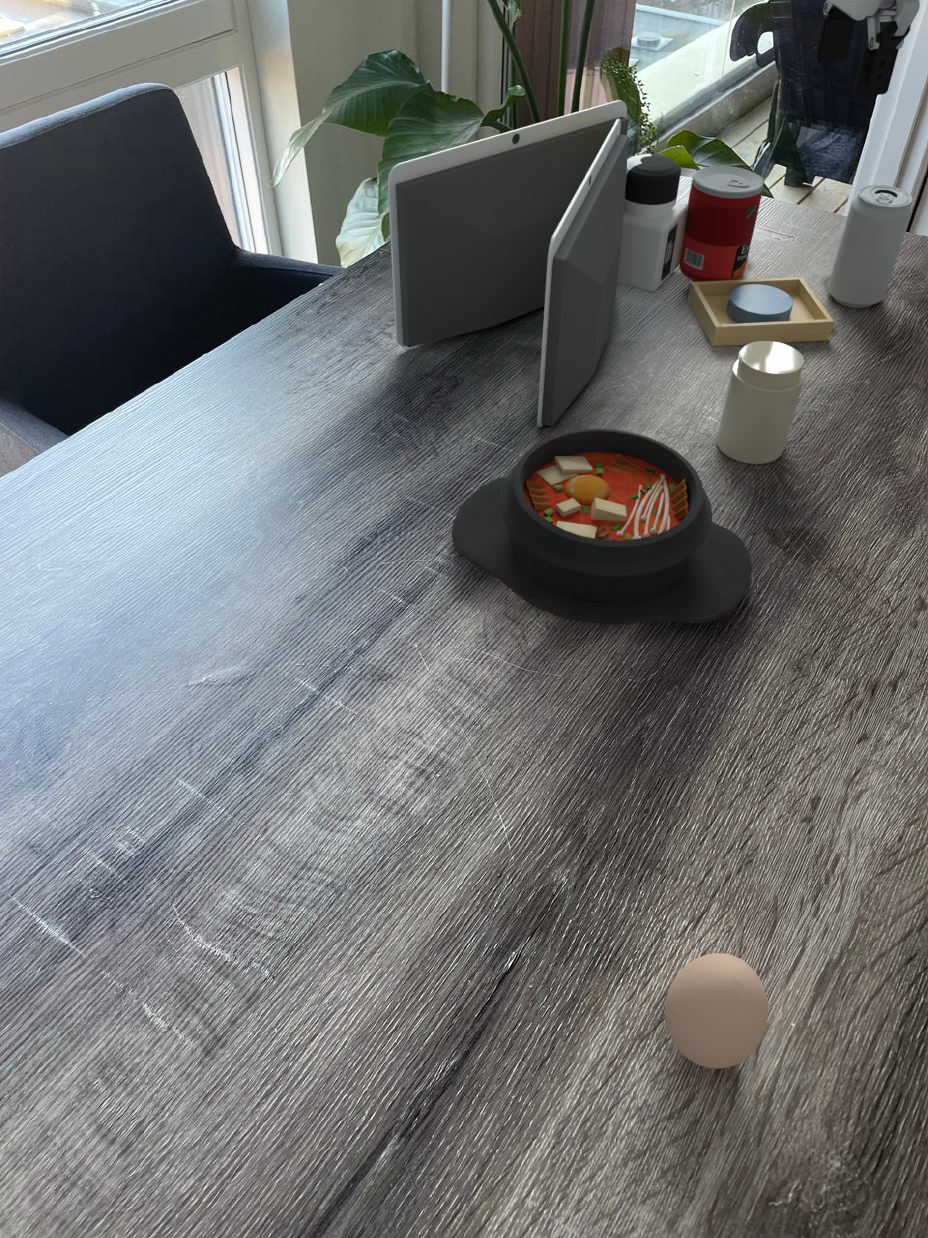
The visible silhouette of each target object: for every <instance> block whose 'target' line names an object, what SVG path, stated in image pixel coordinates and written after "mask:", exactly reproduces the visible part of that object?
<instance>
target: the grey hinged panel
mask: <svg viewBox="0 0 928 1238" xmlns="http://www.w3.org/2000/svg"><path fill="white" fill-rule="evenodd" d="M627 115H628V107H627V104H626V103H625V102H624V100H623V101H622V100H620V99H616V100H613V101H610V102H607V103H603V104H600V105H596V106H592V107H589V108H586V109H582V110H579V111H575V112H572V113H569V114H565V115H562V116H558V117H554V118H550V119H548V120H544V121H540V122H537V123H533V124H529V125H526V126H523V127H520V128H517V129H512V130H509V131H506V132H503V133H499V134H496V135H492V136H489V137H485V138H482V139H479V140H478V139H477V140H475V141H471V142H468V143H464V144H461V145H457V146H454V147H451V148H448V149H447V148H446V149H443V150H440V151H437V152H433V153H429V154H426V155H423V156H419V157H416V158H412V159H409V160H405V161H402V162H399V163H396V164H394V166H393V167H392V168H391V169H390V170H389V173H388V176H387V196H388V197H387V198H388V217H389V235H390V238H389V239H390V254H391V273H392V276H391V277H392V293H393V295H392V296H393V313H394V333H395V341H396V343H397V344H398V345H399V346H401V347H403V348H412V347H413V348H414V347H416V346H420V345H424V344H428V343H432V342H433V343H434V342H437V341H440V340H444V339H449V338H452V337H456V336H460V335H464V334H468V333H472V332H476V331H481V330H484V329H488V328H492V327H494V326H498V325H499V324H503V323H505V322H507V321H510V320H512V319H516V318H517V317H520V316H523V315H525V314H528V313H530V312H533V311H535V310H538V309H540V308H543V307H544V309H543V310H544V311H543V324H542V325H543V326H542V341H541V354H540V355H541V356H540V357H541V358H540V369H539V370H540V372H539V386H538V389H539V390H538V400H537V401H538V402H537V418H536V427H537V428H542V427H543V426H548V427H553V426H554V425H555V423H556V422H557V421H558V419H560V417H561V416H562V415H563V413H564V412H565V411H566V410H567V409H568V408H569V406H570V405H571V403H572V402H573V401H574V400H575V398H576V397H578V395H579V394H580V393H581V391H583V389H584V388H585V386H587V384H588V383H589V382H590V380H591V379H592V378H593V376H594V374H595V371H596V369H597V366H598V364H599V361H600V359H601V356H602V354H603V351H604V349H605V347H606V344H607V342H608V339H609V337H610V334H611V331H612V327H613V318H614V310H615V301H616V293H617V284H618V282H617V277H618V268H619V260H620V251H621V243H622V229H623V215H624V201H625V186H626V172H627V160H628V159H629V158H628V155H629V141H630V136H629V135H628V130H629V123H630V122H629V121H630V120H629V118H627Z"/></svg>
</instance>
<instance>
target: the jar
mask: <svg viewBox="0 0 928 1238" xmlns="http://www.w3.org/2000/svg"><path fill="white" fill-rule="evenodd" d="M737 355H738V359H736V360H735V361H734V363H733V364H732V367H731V372H730V375H729V381H728V385H727V389H726V392H725V393H726V394H725V398H724V402H723V406H722V412H721V415H720V420H719V424H718V429H717V433H716V438H715V442H716V446H717V447H718V449H719V450H720V452H721V453H723V455H725V456H726V457H728V458H730V459H732V460H734V461H736V462H739V463H743V464H748V465H763V464H770V463H772V462H774V461H776V460H778V459H779V458H780V457H781V456H782V455H783V453H784V450H785V446H786V443H787V441H788V436H789V434H790V429H791V427H792V421H793V419H794V417H795V412H796V408H797V405H798V402H799V399H800V395H801V392H802V388H803V385H804V381H805V374H804V373H805V372H804V368H805V367H804V364H805V359H804V356H803V355H802V353H801V352H800V351H798V350H797V349H796V348H794V347H792V346H790V345H788V344H786V343H779V342H773V341H758V342H753V343H750V344H747V345H743V347H742V348H741V349H740V350H739V352H738V354H737Z"/></svg>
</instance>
